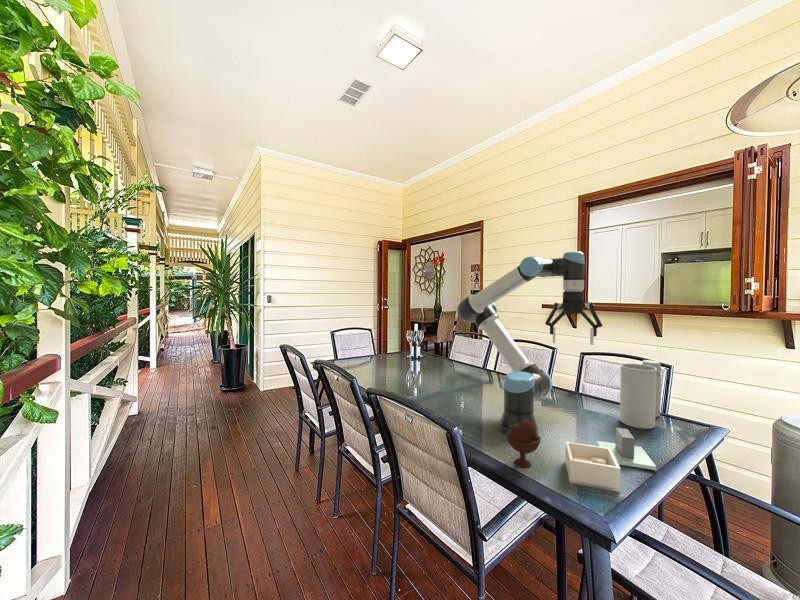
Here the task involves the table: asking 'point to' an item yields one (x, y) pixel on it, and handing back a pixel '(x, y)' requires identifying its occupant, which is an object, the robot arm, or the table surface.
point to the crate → (592, 466)
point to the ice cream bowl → (523, 441)
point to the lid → (628, 451)
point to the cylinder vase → (638, 395)
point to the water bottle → (658, 383)
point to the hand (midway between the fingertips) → (572, 343)
